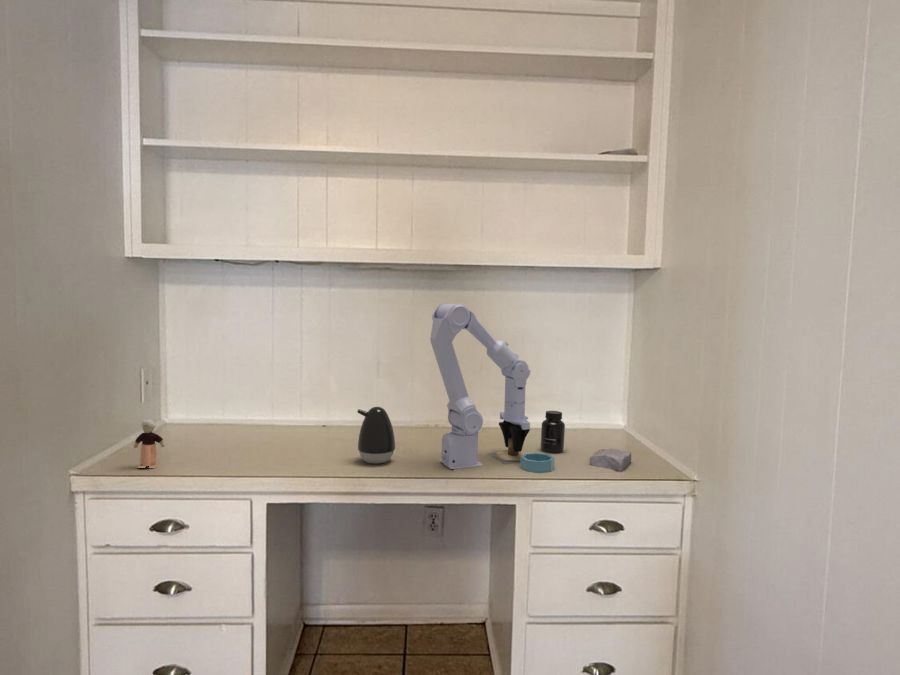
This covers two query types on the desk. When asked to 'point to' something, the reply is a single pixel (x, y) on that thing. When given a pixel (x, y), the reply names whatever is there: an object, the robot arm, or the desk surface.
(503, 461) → the mat
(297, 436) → the desk surface
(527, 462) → the bowl
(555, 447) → the supplement bottle
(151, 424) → the grandmother figurine
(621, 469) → the stone block
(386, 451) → the pump dispenser
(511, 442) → the lid
